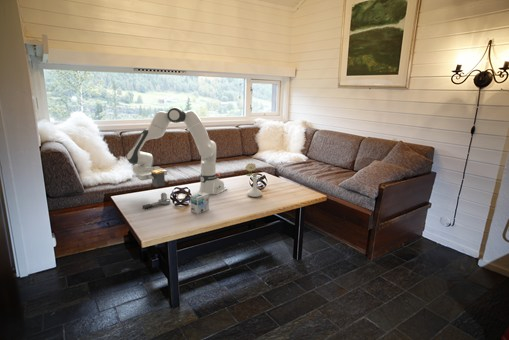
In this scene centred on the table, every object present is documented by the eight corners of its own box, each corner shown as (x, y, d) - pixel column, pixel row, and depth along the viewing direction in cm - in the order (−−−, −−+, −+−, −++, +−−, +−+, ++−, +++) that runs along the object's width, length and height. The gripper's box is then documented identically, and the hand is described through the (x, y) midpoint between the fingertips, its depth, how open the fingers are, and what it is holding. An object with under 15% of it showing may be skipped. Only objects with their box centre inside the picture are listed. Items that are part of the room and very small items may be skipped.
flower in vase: (262, 193, 232) (263, 161, 226) (261, 198, 221) (262, 165, 215) (245, 192, 233) (246, 160, 227) (243, 197, 222) (244, 164, 216)
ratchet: (166, 200, 213) (165, 190, 211) (172, 203, 208) (172, 193, 206) (140, 207, 199) (140, 197, 197) (147, 210, 194) (146, 200, 192)
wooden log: (160, 183, 212) (159, 169, 210) (164, 184, 209) (164, 170, 206) (152, 184, 208) (151, 170, 205) (157, 186, 204) (156, 172, 202)
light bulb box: (198, 214, 191) (197, 198, 188) (190, 211, 195) (189, 195, 192) (209, 209, 200) (209, 193, 197) (202, 206, 203) (201, 191, 200)
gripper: (133, 171, 206) (144, 175, 198) (160, 166, 221) (171, 169, 213) (134, 180, 208) (145, 184, 199) (160, 174, 223) (171, 178, 214)
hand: (158, 176), depth 206 cm, fingers closed on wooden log, 6 cm apart
